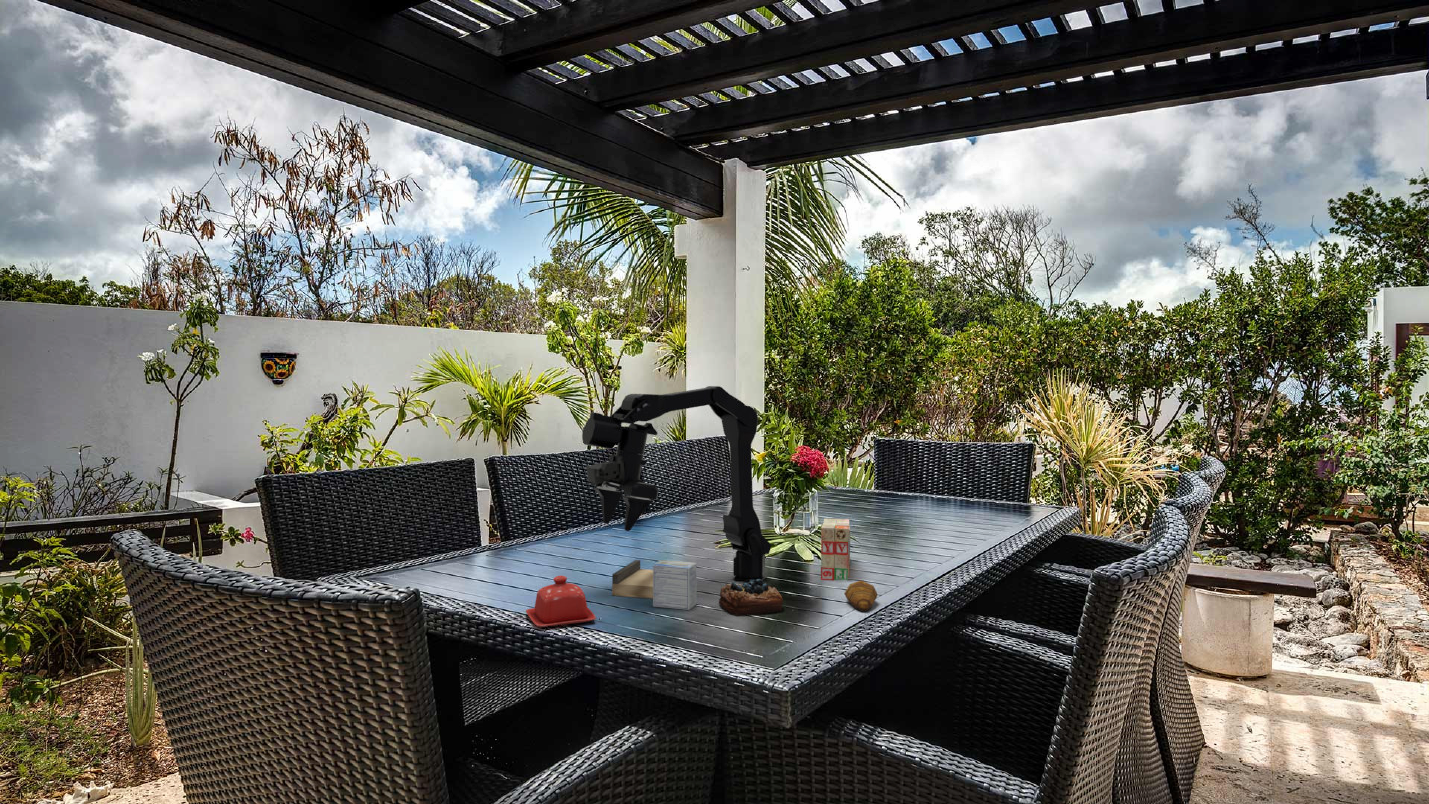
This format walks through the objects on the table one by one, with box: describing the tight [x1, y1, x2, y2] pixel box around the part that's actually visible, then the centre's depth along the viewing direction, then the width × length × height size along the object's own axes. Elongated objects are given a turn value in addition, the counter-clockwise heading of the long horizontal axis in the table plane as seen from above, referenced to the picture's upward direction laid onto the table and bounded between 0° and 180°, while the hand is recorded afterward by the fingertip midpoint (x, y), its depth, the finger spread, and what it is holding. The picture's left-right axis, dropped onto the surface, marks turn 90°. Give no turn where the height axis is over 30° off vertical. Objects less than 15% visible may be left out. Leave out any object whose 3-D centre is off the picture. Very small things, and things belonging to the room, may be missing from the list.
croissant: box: [844, 580, 879, 612], centre depth 164 cm, size 14×7×5 cm, turn 176°
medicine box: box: [652, 559, 698, 611], centre depth 161 cm, size 8×4×9 cm, turn 71°
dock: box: [611, 559, 653, 600], centre depth 174 cm, size 14×14×4 cm
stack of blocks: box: [820, 518, 851, 581], centre depth 193 cm, size 21×6×12 cm, turn 169°
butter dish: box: [525, 575, 597, 628], centre depth 152 cm, size 12×12×8 cm
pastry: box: [718, 579, 784, 617], centre depth 161 cm, size 11×12×6 cm
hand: (616, 527), depth 167 cm, fingers open, 9 cm apart
